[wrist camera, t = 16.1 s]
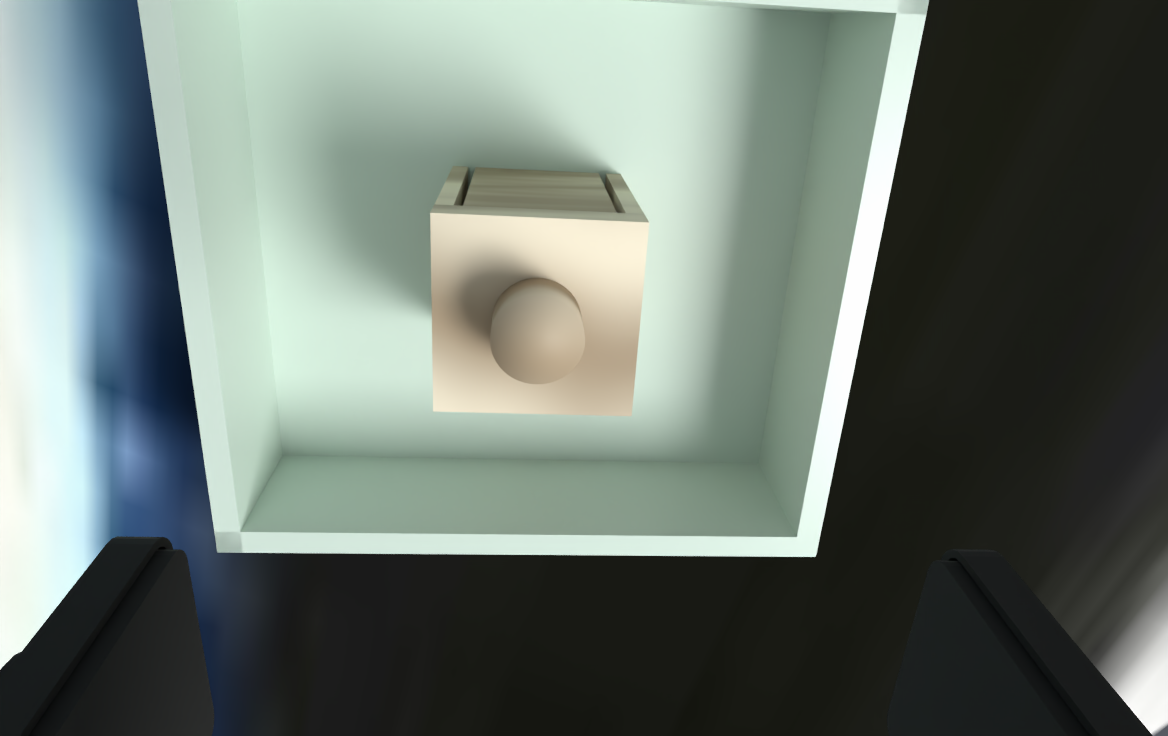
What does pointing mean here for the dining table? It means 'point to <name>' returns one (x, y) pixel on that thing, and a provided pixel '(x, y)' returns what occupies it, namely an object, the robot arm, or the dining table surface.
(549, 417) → the bin
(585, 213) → the drawer
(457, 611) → the dining table surface
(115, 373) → the dining table surface
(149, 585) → the robot arm
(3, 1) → the dining table surface
